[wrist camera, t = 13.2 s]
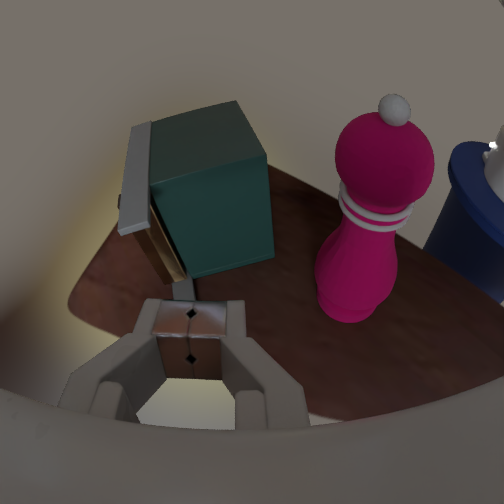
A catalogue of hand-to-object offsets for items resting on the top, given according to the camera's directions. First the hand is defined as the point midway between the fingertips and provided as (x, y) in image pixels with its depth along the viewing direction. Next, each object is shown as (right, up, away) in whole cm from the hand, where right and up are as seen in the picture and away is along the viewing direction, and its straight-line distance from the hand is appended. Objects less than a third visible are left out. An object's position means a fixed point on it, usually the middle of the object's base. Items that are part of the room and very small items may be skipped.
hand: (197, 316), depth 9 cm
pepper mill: (+11, -2, +19) cm, 22 cm away
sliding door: (-7, +2, +23) cm, 24 cm away
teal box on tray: (-2, +3, +24) cm, 24 cm away
